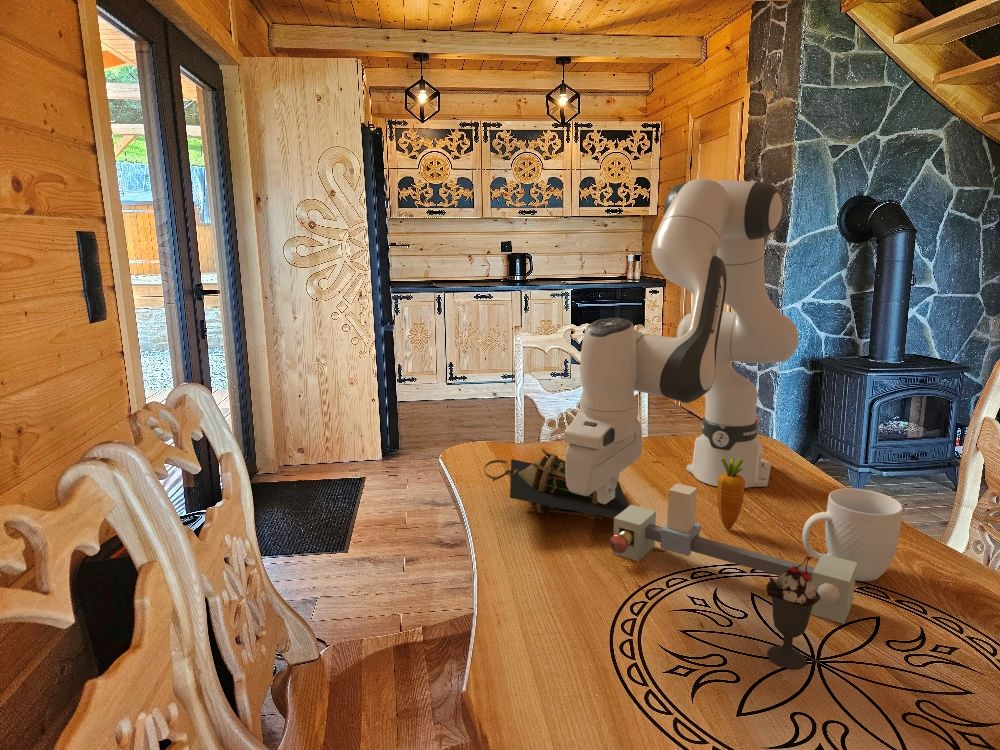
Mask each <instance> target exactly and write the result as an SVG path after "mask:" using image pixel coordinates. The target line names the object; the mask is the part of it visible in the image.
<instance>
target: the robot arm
mask: <svg viewBox="0 0 1000 750" xmlns="http://www.w3.org/2000/svg"><path fill="white" fill-rule="evenodd" d="M782 201H783V200H782V195H781V192H780V190H779V189H778V188H777V187H776V185H775V184H772V183H770V182H765V181H760V180H759V181H755V182H754V181H747V180H745V181H744V180H735V179H723V180H722V179H721V180H713V179H709V178H702V177H701V178H696V179H692V180H690V181H687V182H682V183H679V184H676V185H675V186H673V188H672V189H670V190H669V192H668V193H667V194H666V197H665V200H664V203H663V211H662V212H663V217H662V219H661V221H660V224H659V226H658V227H657V231H656V233H655V235H654V238H653V240H652V243H651V244H652V246H651V257H652V262H653V263H654V266H655V267H656V269H657V270H658V272H659V273H660V275H661V274H662V276H663V277H664V278H666V279H667V280H668V281H670V282H671V283H673V284H674V285H675V286H678V287H681V288H683V289H685V290H687V291H689V292H690V293H693V294H694V298H693V303H692V308H691V312H690V313H687V314H686V315H684V316H683V317H682V319H681V321H680V322H679V324H678V326H677V330H676V337H671V336H663V335H655V334H654V335H653V334H650V333H643V332H641V331H638V330H636V329H635V327H634V324H633V322H632V321H630V320H628V319H625V318H619V317H609V318H608V317H607V318H602V319H598V320H595V321H593V322H592V323H590V324H588V325H587V326H586V327H585V330H584V334H583V338H582V343H581V350H580V352H581V353H580V365H579V367H580V368H579V376H580V377H579V378H580V382H581V385H582V390H581V391H582V394H581V396H580V400H579V411H577V413H576V415H575V417H574V418H573V419H572V421H571V422H570V424H569V425H568V426H567V427H566V428H565V430H564V434H563V437H564V439H563V440H564V442H565V443H568V446H567V447H566V451H565V460H564V461H565V469H566V485H567V487H568V489H569V491H570V492H572V493H576V494H579V495H584V496H588V495H590V494H591V493H593V492H594V491H595V490H596V491H597V500H598V502H599V503H602V504H607V503H608V502H609V501H610V500H612V499H613V498H614V497H615V488H616V486H617V483H618V482H619V479H620V473H621V472H623V471H624V470H625V469H627V468H628V467H629V466H632V464H634V463H635V462H637V461H638V460H639V459H640V458H641V455H642V451H643V433H642V425H641V422H640V420H639V419H638V413H637V412H636V411H637V401H636V397H635V391H637V392H639V393H644V394H651V395H656V396H660V397H664V398H666V399H671V400H674V401H677V402H681V403H685V404H690V403H692V402H694V401H696V400H698V399H700V398H701V397H704V395H705V401H704V403H705V407H704V408H705V411H704V416H703V417H702V422H701V433H702V434H701V435H699V436H697V437H696V438H695V440H694V450H693V458H692V462H691V463H688V464H687V465H686V468H685V469H686V471H687V472H689V473H691V474H692V475H693V476H694V477H695V478H696V479H697V480H698V481H699V482H701V483H704V484H707V485H710V486H714V487H717V486H718V478H719V477H720V476H721V475H722V474H724V473H727V471H726V469H725V467H724V464H723V462H722V461H721V458H723V457H724V459H725V460H726V462H727V465H728V466H729V464H730V462H731V459H732V458H734V465H735V463H736V461H737V460H738V459H739V458H741V459H742V460H743V462H742V464H741V465H740V467H739V468H742V470H741V471H740V472H738V473H737V474H738V475H740V476H741V477H742V478H743V479H744V480H745V489H747V488H752V487H755V488H756V487H757V488H760V487H768V485H769V481H770V475H771V469H772V463H771V462H770V461H768V460H766V459H763V447H764V446H763V443H761V442H760V439H759V438H758V429H759V428H758V424H759V417H758V416H756V415H757V405H758V404H757V402H758V391H757V388H756V386H755V384H754V383H753V382H752V381H751V380H749V379H748V378H747V377H745V376H743V375H741V374H739V373H738V372H737V371H736V370H735V369H734V367H733V365H732V362H741V363H754V364H762V365H764V364H765V365H766V364H775V363H783V362H787V361H788V360H789V359H790V358H791V357H792V356H793V355H794V354H795V353H796V350H797V348H798V345H799V339H800V337H799V331H798V329H797V326H796V324H795V323H794V321H793V320H792V319H791V318H789V317H787V315H785V314H783V313H782V312H781V311H780V309H778V308H777V307H776V306H775V304H774V303H773V301H772V300H771V298H770V297H769V294H768V291H767V288H766V282H765V281H766V280H765V279H766V278H765V277H766V276H765V238H767V237H769V236H770V235H772V234H773V233H774V232H775V231H776V229H777V228H778V225H779V222H780V220H781V218H782V213H783V203H782ZM725 305H727V306H729V307H730V308H731V309H732V311H724V307H725Z"/></svg>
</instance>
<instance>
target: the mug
mask: <svg viewBox="0 0 1000 750" xmlns="http://www.w3.org/2000/svg"><path fill="white" fill-rule="evenodd" d="M827 498H828V500H827V505H826V511H822V512H821V511H820V512H817V513H815V514H812V515H810V517H809V518H808V519H807V520H806V521H805V523H804V526H803V527H802V528H803V529H802V534H801V537H802V544H803V546H804V549H805V550H806V552H807V553H808V554H809V555H810V557H813V558H815V559H816V560H817V559H818V560H819V559H820V557H821V555H822V554H823V553H822V552H817V551H815V550H814V548H812V546H811V544H810V532H811V529H812V528H813V526H814V525H815V524H816V523H817V522H820V521H825V523H824V524H825V526H824V527H825V530H824V531H825V532H824V533H825V534H824V536H825V547H826V551H827V553H825V554H826V555H830V556H834V557H837V558H841V559H845V560H849V561H853V562H857V569H856V578H855V581H857V582H858V581H859V582H873V581H875V580H877V579H879V578H881V576H882V575H883V574H884V573H885V572H886V571H887V570H888V568H889V567H890V565H891V564H892V561H893V559H894V558H895V554H896V553H897V549H898V545H899V538H900V536H901V535H900V534H901V526H902V518H903V505H902V504H901V503H900V502H899V501H898V500H897V499H894V498H893V497H892V496H890V495H886V494H884V493H881V492H877V491H873V490H868V489H862V488H850V487H849V488H848V487H847V488H838V489H835V490H832V491H831V492H830V493H829V494H828V497H827Z"/></svg>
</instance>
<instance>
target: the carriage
mask: <svg viewBox="0 0 1000 750" xmlns="http://www.w3.org/2000/svg"><path fill="white" fill-rule="evenodd" d="M697 493H698V488H697V487H694V486H690V485H685V484H682V483H676V484H674V485H673V486H672V487H671V488H669V489H668V502H667V503H668V505H667V522H666V523H665V524H664V526H661V527H662V528H661V529H660V536H661V542H660V549H662V550H664V551H665V550H666V551H668V552H669V551H670V552H671V553H676V554H680V555H683V556H686V557H690V555H691V553H692V551H691V540H692V539H693V538H694V537H695V536H698V537H700V534H701V533H700V532H701V530H702V523H699V522H696V513H697V512H696V511H697V510H696V508H697Z"/></svg>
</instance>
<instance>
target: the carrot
mask: <svg viewBox="0 0 1000 750" xmlns="http://www.w3.org/2000/svg"><path fill="white" fill-rule="evenodd" d="M721 461H722V462H723V464H724V467H725V469H726V471H727V473H724V474H722V475H721V476H720V477H719V478H718V486H716V487H717V491H716V492H717V493H716V494H717V495H716V497H717V498H716V499H717V508H718V513H719V517H720V520H721V522H722V524H723V526H724V528H725V529H726V530H727V531H729V530H731V529H732V528H733V527H734V525H735V524H736V521H737V520H738V517H739V516H740V513H741V509H742V505H743V502H744V495H745V489H746V488H745V480H744V479H743V478H742V477H741V476H740V475H738V474H737V473H738V472H740V471H741V470H742V468H739V467H740V465H741V464H742V462H743V460H742V459H741V458H739V459H738V460H737V461H736V463H735V465H734V458H732V459H731V462H730V464H729V466H728V465H727V462H726V460H725V459H724V457H723V458H721Z"/></svg>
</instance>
